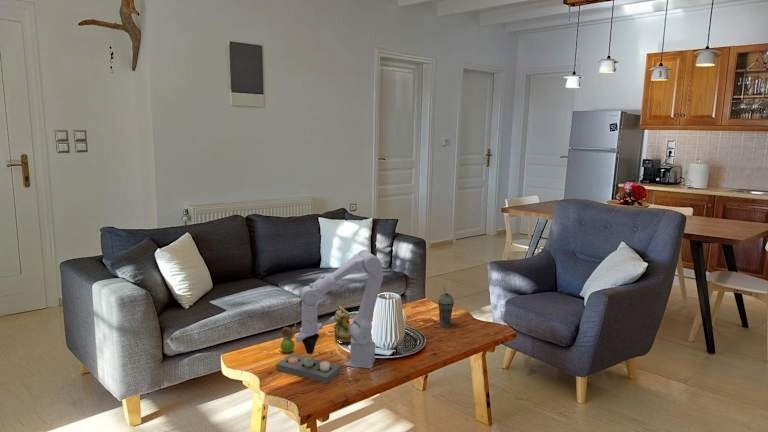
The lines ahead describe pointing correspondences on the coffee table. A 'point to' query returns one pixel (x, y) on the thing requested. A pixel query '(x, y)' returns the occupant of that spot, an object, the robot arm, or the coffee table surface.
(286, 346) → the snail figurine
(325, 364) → the cream button
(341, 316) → the decorative figurine
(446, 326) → the beverage cup
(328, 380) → the button panel
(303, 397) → the coffee table surface
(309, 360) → the sage button
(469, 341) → the coffee table surface
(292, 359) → the terracotta button
